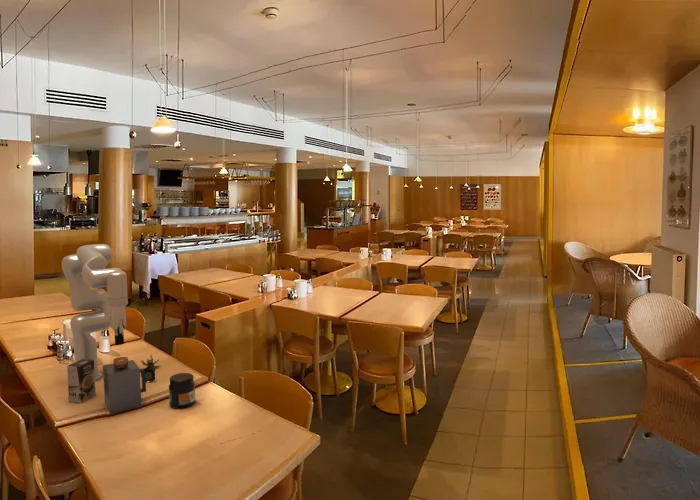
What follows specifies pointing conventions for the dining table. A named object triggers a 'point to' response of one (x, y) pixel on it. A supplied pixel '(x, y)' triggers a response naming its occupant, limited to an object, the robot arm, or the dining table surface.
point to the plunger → (120, 362)
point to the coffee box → (81, 380)
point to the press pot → (123, 387)
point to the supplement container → (182, 390)
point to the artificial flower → (149, 372)
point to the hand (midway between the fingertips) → (119, 344)
